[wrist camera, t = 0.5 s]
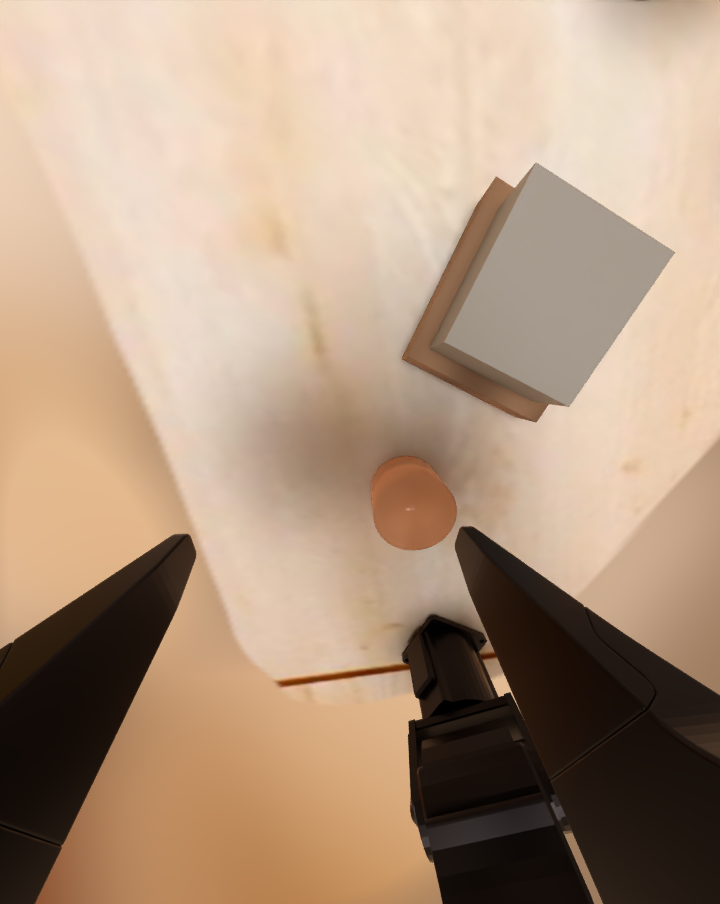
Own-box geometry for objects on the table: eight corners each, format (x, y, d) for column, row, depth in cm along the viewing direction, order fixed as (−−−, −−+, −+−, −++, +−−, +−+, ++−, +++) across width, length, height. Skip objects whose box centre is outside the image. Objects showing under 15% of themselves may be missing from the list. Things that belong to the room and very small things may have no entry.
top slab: (614, 276, 15) (675, 252, 12) (533, 401, 17) (569, 406, 14) (499, 206, 14) (536, 162, 11) (429, 348, 16) (444, 342, 13)
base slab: (594, 286, 18) (639, 268, 15) (511, 416, 20) (536, 422, 17) (472, 211, 16) (496, 176, 14) (400, 359, 19) (407, 356, 16)
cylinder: (449, 472, 21) (472, 497, 17) (416, 525, 22) (430, 561, 18) (389, 444, 20) (397, 462, 16) (360, 501, 22) (360, 532, 17)
